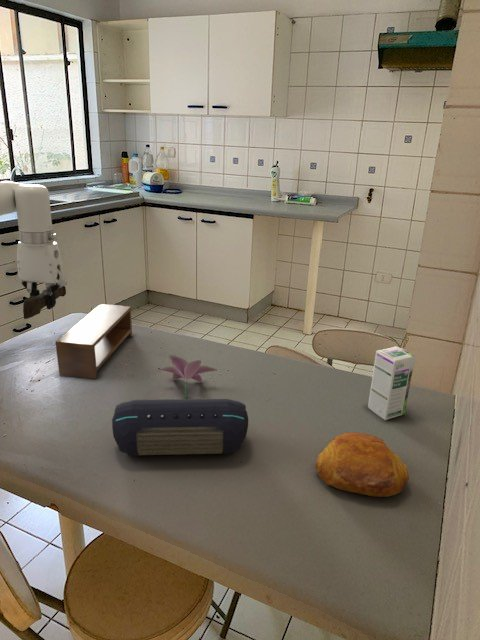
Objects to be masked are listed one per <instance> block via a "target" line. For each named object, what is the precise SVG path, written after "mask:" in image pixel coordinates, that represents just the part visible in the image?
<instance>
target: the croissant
mask: <svg viewBox="0 0 480 640" xmlns="http://www.w3.org/2000/svg"><path fill="white" fill-rule="evenodd" d="M314 466H315V467H314V468H315V470H316V471H317V473H318V476H319V478H320V479H321V481H323V482H324V483H325V484H326V485H327V486H330V487H333V488H336V489H338V490H342V491H346V492H349V493H353V494H360V495H365V496H369V497H377V498H378V497H379V498H381V497H386V498H387V497H391V496H396V495H397V494H400V493H401V492H402V491H403V490H404V487H405V485H407V484H408V481H409V479H410V478H409V477H410V476H409V471H408V468H407V464H405V463H404V462H403V461H402V459H401V457H400V456H399V455H398V454H396V453H394V452H393V451H392V449H391V448H390V447H389V445H387V444H386V443H385V442H384V439H383V438H380V437H378V436H375V435H374V434H373V435H372V434H369V433H365V432H357V431H356V432H355V431H354V432H353V431H352V432H351V431H350V432H344V433H342V434H339V435H336V436H334V438H333V439H332V440H330V441H329V442H328V443H327V446H326V447H324V448H323V450H322V451H321V452H320V453H318V455H317V461H316V462H315V465H314Z"/></svg>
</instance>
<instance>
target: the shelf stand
mask: <svg viewBox="0 0 480 640" xmlns="http://www.w3.org/2000/svg"><path fill="white" fill-rule="evenodd" d="M132 323H133V322H132V306H129V305H117V304H105V303H100V304H99V305H97V306H96V307H95V308H93V309H92V310H91V311H90V312H89V313H88V314H87V315H85V316H84V317H83V318H82V319H81V320H79V321H78V322H77V323H76V324H74V325H73V326H72V327H71V328H70V329H69V330H68V331H66V332H65V333H64V334H63V335H61V336H60V337H59V338H58V339H57V340H55V341H54V342H55V349H56V359H57V366H58V375H59V376H60V377H61V376H62V377H70V378H72V377H73V378H80V379H81V378H82V379H90V380H91V379H92V380H96V379H97V377H98V370H99V369H100V368H101V367H102V366H103V365H104V364H105V363H106V361H107V360H108V359H109V358H110V356H111V355H112V354H113V353H114V352H115V351H116V350H117V348H119V347H120V345H122V343H123V342H124V341H125V339H126V338H131V337H132V336H133V324H132Z"/></svg>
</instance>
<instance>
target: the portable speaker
mask: <svg viewBox="0 0 480 640" xmlns="http://www.w3.org/2000/svg"><path fill="white" fill-rule="evenodd" d="M248 428H249V415H248V412H247V405H246V404H245V403H244V402H241V401H239V400H234V399H229V398H183V399H182V398H180V399H179V398H177V399H175V398H174V399H173V398H171V399H166V398H165V399H132V400H129V401H125V402H124V401H123V402H120V403H119V404H116V405H115V408H114V413H113V416H112V419H111V429H112V436H113V439H114V441H115V443H116V445H117V447H118V449H119V451H120V452H121V453H123V454H125V455H127V456H161V455H162V456H163V455H167V456H168V455H208V454H209V455H214V454H217V455H218V454H222V455H223V454H233V453H235V452H236V451H238V450H240V449H241V447H242V444H243V443H244V441H245V439H246V437H247V434H248Z"/></svg>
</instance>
